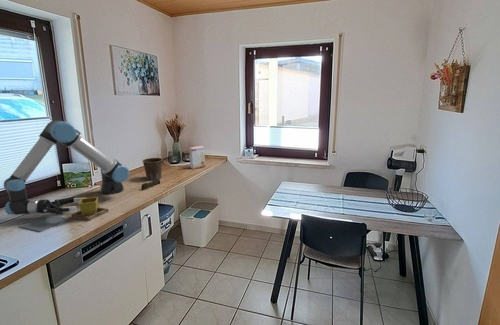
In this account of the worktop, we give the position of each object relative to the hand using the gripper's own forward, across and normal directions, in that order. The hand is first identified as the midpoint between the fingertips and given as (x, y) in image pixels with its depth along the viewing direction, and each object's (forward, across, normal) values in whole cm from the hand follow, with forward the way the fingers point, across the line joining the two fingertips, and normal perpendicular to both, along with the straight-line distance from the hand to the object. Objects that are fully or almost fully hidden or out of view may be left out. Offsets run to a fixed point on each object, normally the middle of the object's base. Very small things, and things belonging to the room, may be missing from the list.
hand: (81, 204), depth 157 cm
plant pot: (+29, -73, -7) cm, 78 cm away
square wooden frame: (+4, 0, -7) cm, 8 cm away
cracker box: (+66, -105, -7) cm, 124 cm away
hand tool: (+30, -49, -7) cm, 58 cm away
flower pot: (+4, 0, -7) cm, 8 cm away
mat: (-16, +8, -7) cm, 19 cm away
